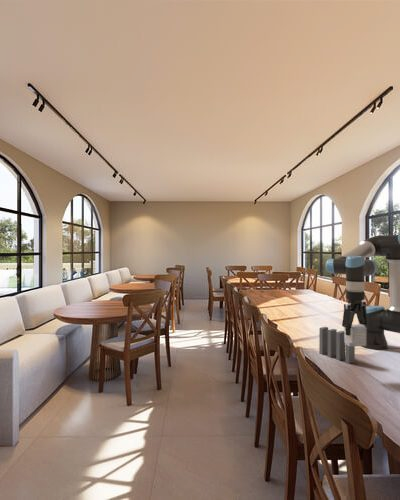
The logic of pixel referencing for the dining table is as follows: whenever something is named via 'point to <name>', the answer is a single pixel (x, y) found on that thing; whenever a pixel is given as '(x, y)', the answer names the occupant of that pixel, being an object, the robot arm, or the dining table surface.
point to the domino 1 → (323, 340)
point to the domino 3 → (340, 346)
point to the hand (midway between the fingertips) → (355, 340)
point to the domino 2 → (332, 342)
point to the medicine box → (357, 335)
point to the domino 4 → (350, 354)
